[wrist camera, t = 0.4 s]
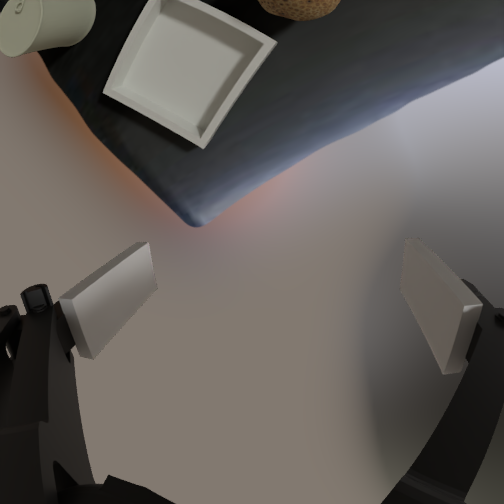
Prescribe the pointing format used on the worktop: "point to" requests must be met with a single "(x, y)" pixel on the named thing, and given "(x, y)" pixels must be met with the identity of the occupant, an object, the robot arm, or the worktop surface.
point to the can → (44, 24)
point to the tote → (187, 66)
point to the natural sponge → (299, 8)
